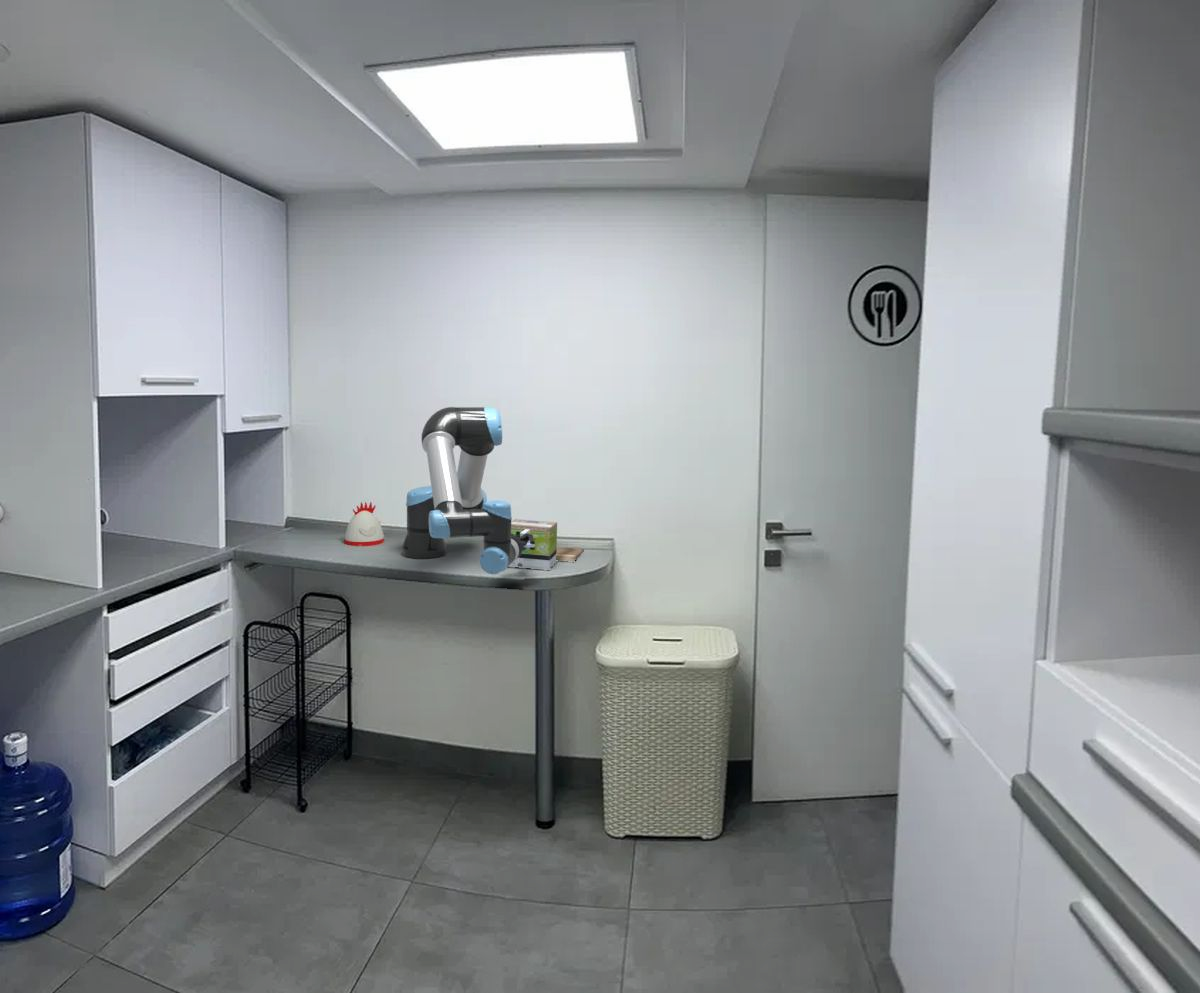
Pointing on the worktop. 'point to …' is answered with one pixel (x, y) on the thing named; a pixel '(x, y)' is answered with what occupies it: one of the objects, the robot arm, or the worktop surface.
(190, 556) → the worktop surface
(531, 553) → the tea box
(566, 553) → the tan flat board
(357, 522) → the kitchen timer
